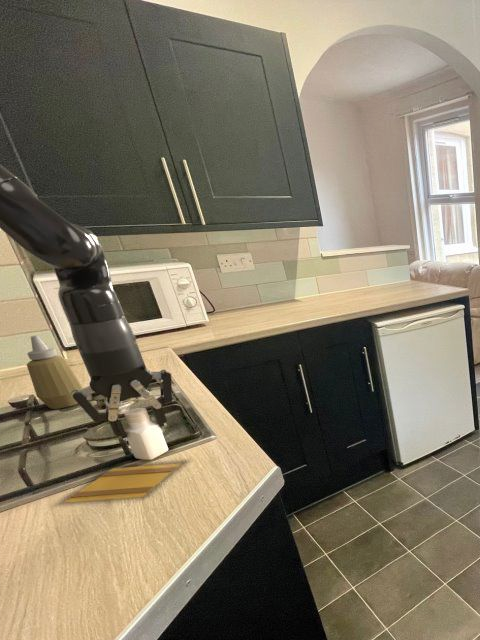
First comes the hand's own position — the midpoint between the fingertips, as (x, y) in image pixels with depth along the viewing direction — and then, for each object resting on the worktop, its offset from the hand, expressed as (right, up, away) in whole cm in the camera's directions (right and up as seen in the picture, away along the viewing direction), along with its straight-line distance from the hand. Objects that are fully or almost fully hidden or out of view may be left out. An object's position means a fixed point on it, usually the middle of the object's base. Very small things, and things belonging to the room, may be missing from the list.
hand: (142, 430), depth 79 cm
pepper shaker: (0, -5, +2) cm, 6 cm away
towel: (+3, -9, -6) cm, 11 cm away
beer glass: (-31, +4, +28) cm, 42 cm away
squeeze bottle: (-43, +3, +27) cm, 51 cm away
